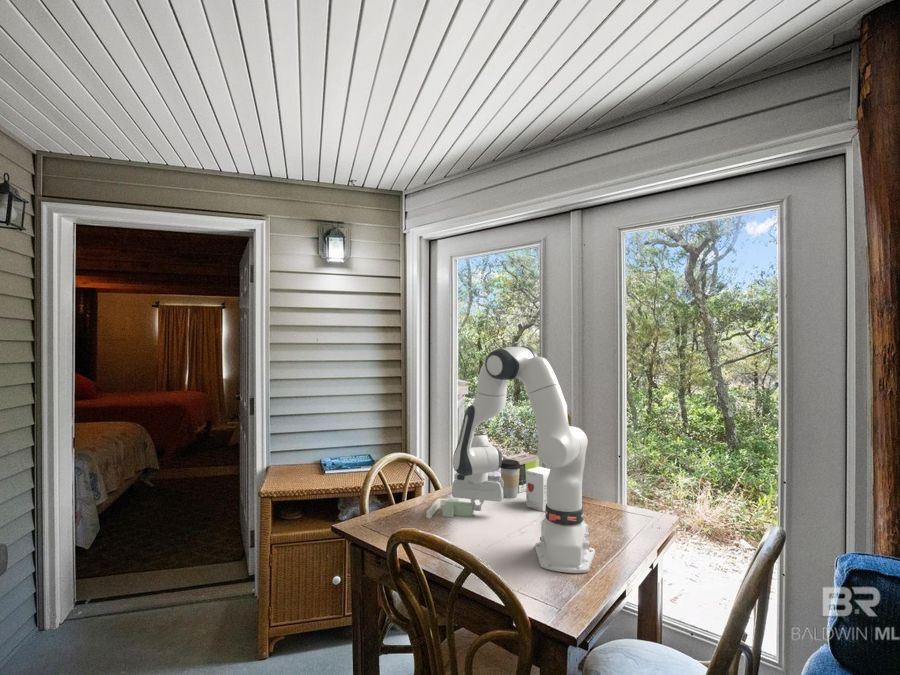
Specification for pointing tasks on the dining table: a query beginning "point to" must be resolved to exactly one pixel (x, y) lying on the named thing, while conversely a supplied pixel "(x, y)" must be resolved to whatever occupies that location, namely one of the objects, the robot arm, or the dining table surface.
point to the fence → (437, 506)
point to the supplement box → (536, 488)
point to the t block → (457, 508)
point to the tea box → (524, 467)
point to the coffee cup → (510, 477)
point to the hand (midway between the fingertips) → (477, 510)
